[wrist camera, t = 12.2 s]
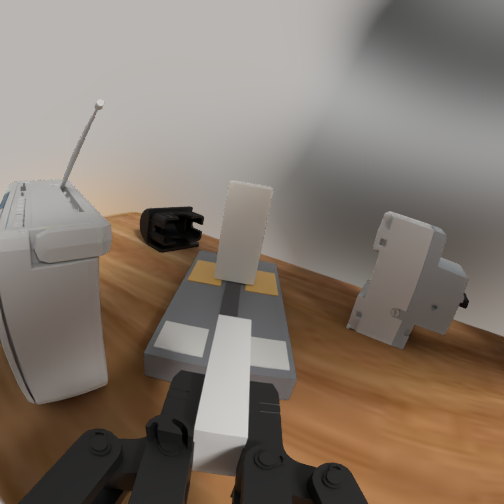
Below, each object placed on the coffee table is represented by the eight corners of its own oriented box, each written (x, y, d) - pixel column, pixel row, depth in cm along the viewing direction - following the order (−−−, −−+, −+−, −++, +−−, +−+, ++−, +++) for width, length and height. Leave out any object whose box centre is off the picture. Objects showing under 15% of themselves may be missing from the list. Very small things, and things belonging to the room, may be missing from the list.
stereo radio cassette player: (13, 287, 26) (12, 119, 20) (69, 280, 32) (76, 120, 26) (29, 418, 13) (-16, 91, 7) (125, 395, 19) (135, 98, 12)
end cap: (179, 235, 59) (183, 203, 57) (201, 246, 55) (206, 211, 53) (137, 241, 51) (140, 205, 49) (158, 253, 47) (162, 214, 45)
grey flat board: (272, 278, 46) (276, 263, 46) (288, 399, 22) (297, 378, 21) (198, 264, 46) (200, 249, 45) (144, 375, 21) (143, 351, 20)
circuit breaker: (442, 364, 29) (491, 252, 24) (345, 327, 35) (382, 213, 30) (440, 338, 35) (478, 243, 30) (357, 307, 41) (387, 210, 37)
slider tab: (254, 273, 40) (271, 187, 36) (253, 285, 36) (273, 190, 32) (217, 266, 40) (232, 179, 36) (213, 278, 36) (229, 182, 32)
